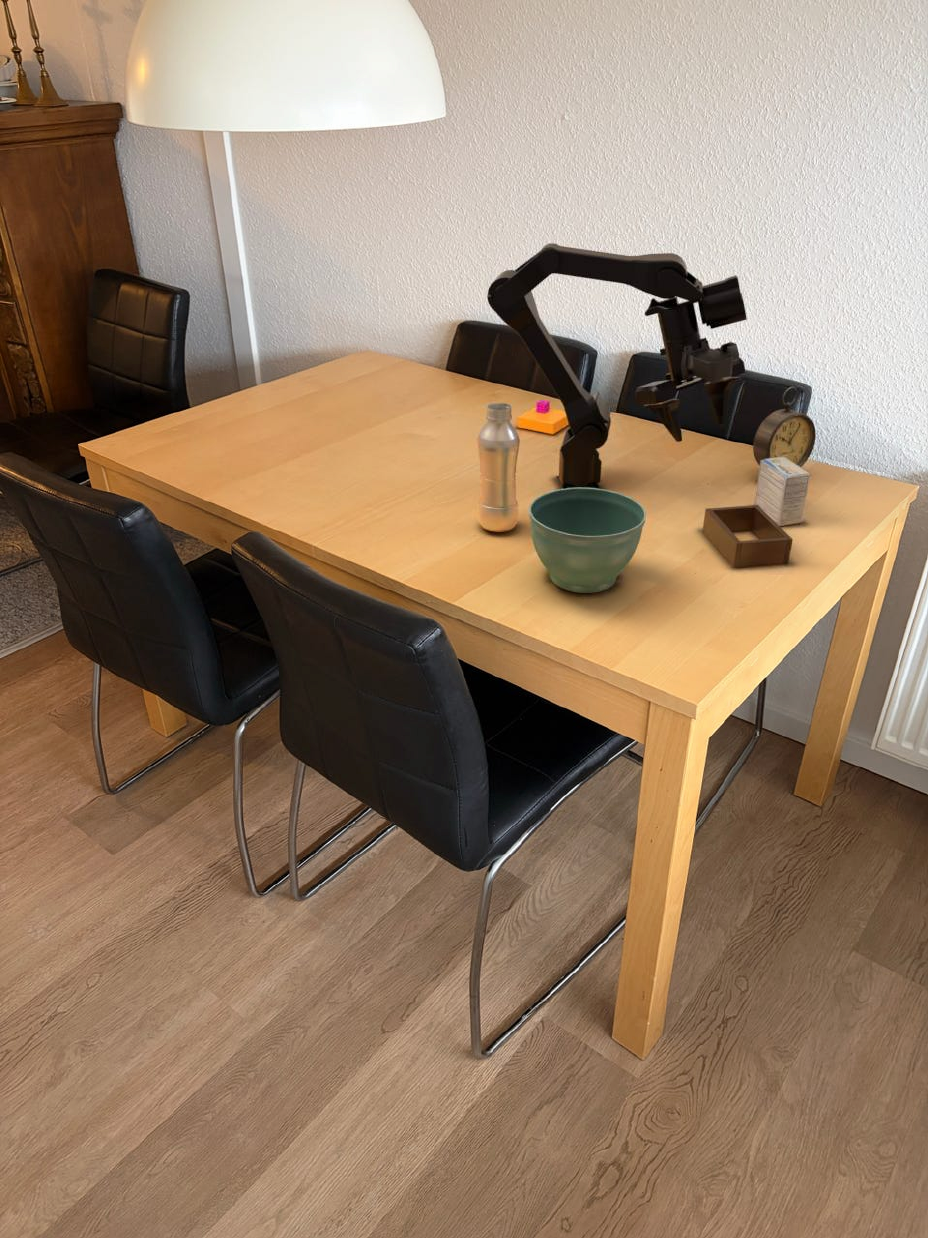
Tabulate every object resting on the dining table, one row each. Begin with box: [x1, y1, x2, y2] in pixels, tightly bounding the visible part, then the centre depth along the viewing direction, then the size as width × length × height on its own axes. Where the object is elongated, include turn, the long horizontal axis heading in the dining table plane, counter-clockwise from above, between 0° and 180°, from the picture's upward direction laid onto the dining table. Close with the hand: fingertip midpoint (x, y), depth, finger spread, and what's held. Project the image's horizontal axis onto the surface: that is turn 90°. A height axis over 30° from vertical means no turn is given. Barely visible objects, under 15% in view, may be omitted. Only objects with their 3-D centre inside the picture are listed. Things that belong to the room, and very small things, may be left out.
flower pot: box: [528, 487, 647, 594], centre depth 138 cm, size 16×16×11 cm
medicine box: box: [753, 457, 811, 527], centre depth 157 cm, size 8×4×9 cm, turn 15°
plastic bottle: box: [476, 402, 521, 533], centre depth 151 cm, size 6×7×20 cm
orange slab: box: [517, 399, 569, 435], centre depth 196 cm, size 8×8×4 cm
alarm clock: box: [752, 386, 817, 468], centre depth 170 cm, size 11×5×16 cm, turn 118°
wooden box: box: [702, 504, 793, 569], centre depth 149 cm, size 9×13×4 cm
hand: (700, 433), depth 159 cm, fingers open, 9 cm apart
